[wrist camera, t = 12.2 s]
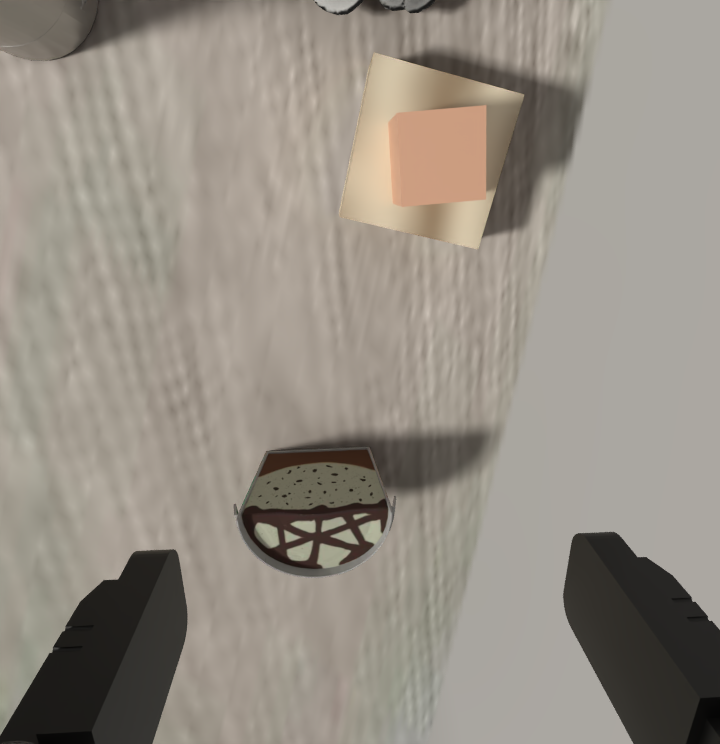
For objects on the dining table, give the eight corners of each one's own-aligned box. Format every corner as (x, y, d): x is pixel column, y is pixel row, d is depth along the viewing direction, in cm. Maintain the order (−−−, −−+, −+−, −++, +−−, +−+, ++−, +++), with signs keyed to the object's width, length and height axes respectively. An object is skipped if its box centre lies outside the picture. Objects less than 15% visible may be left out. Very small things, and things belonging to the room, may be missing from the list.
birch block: (338, 212, 40) (339, 216, 35) (368, 69, 36) (373, 52, 32) (461, 241, 41) (478, 249, 36) (500, 105, 38) (524, 94, 33)
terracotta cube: (392, 203, 35) (401, 206, 30) (388, 122, 33) (397, 112, 28) (465, 197, 35) (486, 199, 30) (464, 115, 33) (486, 105, 29)
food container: (255, 509, 48) (237, 588, 39) (249, 452, 46) (228, 521, 37) (386, 503, 49) (399, 579, 39) (385, 445, 47) (399, 512, 37)
